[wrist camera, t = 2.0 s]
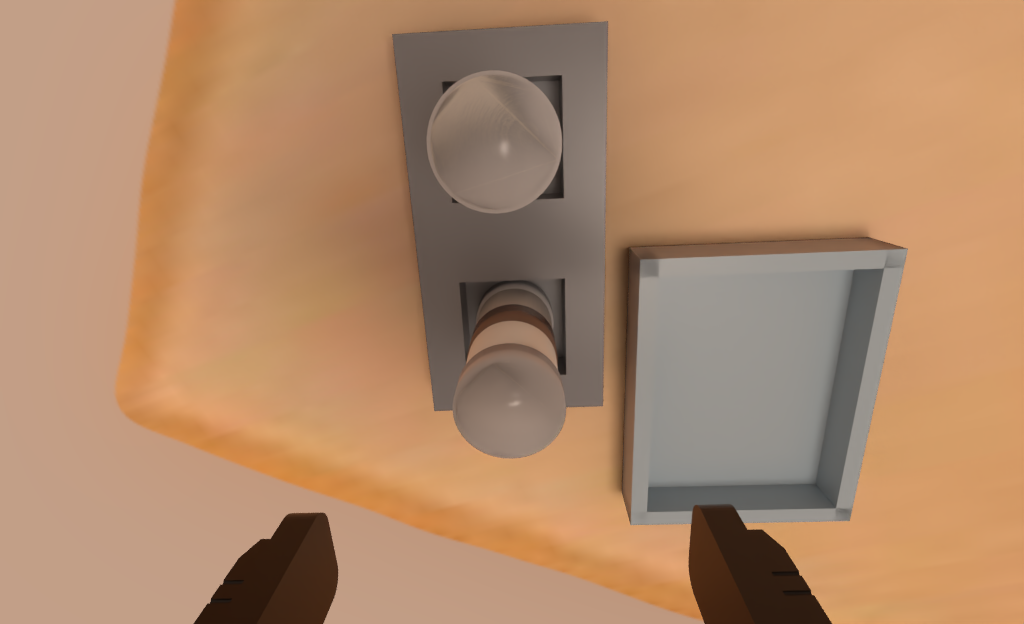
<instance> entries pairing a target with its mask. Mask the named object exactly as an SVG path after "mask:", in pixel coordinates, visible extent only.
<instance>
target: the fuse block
mask: <svg viewBox="0 0 1024 624" xmlns="http://www.w3.org/2000/svg"><path fill="white" fill-rule="evenodd" d="M392 36H393V45H394V54H395V63H396V72H397V80H398V89H399V98H400V107H401V116H402V125H403V134H404V143H405V152H406V161H407V170H408V179H409V188H410V197H411V206H412V215H413V223H414V232H415V241H416V250H417V259H418V268H419V277H420V286H421V295H422V304H423V313H424V322H425V331H426V340H427V349H428V357H429V366H430V375H431V384H432V393H433V402H434V411H449V410H453V399H454V395H455V391H456V388H457V384H458V381H459V377H460V374H461V372H462V370H463V368H464V367H465V365H466V362H467V353H468V349H469V346H470V342H471V338H472V335H473V331H474V329H475V326H476V316H477V312H478V309H479V305H480V302H481V300H482V298H483V296H484V294H485V293H486V292H487V291H488V290H489V289H490V288H491V287H493V286H494V285H496V284H497V283H499V282H502V281H513V280H525V281H528V282H530V283H533V284H534V285H536V286H538V287H539V288H540V289H541V290H542V291H543V292H544V293H545V294H546V296H547V297H548V299H549V301H550V304H551V307H552V313H553V322H554V324H553V332H554V336H555V342H556V350H557V358H558V366H557V367H558V371H559V374H560V376H561V379H562V383H563V389H564V396H565V403H566V407H590V406H603V365H604V289H605V213H606V137H607V61H608V21H607V22H590V23H573V24H556V25H540V26H523V27H506V28H489V29H473V30H456V31H439V32H422V33H405V34H392ZM489 70H499V71H506V72H510V73H513V74H517V75H519V76H521V77H523V78H525V79H527V80H528V81H530V82H531V83H533V84H534V85H535V86H537V87H538V88H539V89H540V90H541V91H542V92H543V93H544V94H545V96H546V97H547V98H548V99H549V101H550V103H551V104H552V106H553V108H554V110H555V112H556V114H557V117H558V120H559V122H560V127H561V132H562V153H561V159H560V163H559V166H558V169H557V171H556V174H555V176H554V178H553V179H552V181H551V183H550V184H549V186H548V187H547V188H546V190H545V191H544V192H543V193H542V194H541V195H540V196H539V197H538V198H537V199H535V200H534V201H533V202H531V203H530V204H528V205H526V206H524V207H522V208H520V209H517V210H515V211H511V212H507V213H484V212H479V211H476V210H473V209H470V208H468V207H466V206H464V205H462V204H461V203H459V202H457V201H456V200H455V199H454V198H452V197H451V196H450V195H449V194H448V193H447V192H446V191H445V190H444V189H443V187H442V186H441V185H440V183H439V182H438V180H437V178H436V177H435V175H434V172H433V170H432V168H431V165H430V162H429V158H428V152H427V129H428V125H429V120H430V117H431V115H432V112H433V110H434V108H435V106H436V104H437V102H438V101H439V99H440V98H441V96H442V95H443V94H444V93H445V92H446V91H447V90H448V89H449V88H450V87H451V86H452V85H453V84H455V83H456V82H457V81H459V80H461V79H462V78H464V77H466V76H468V75H471V74H474V73H477V72H481V71H489Z"/></svg>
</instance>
